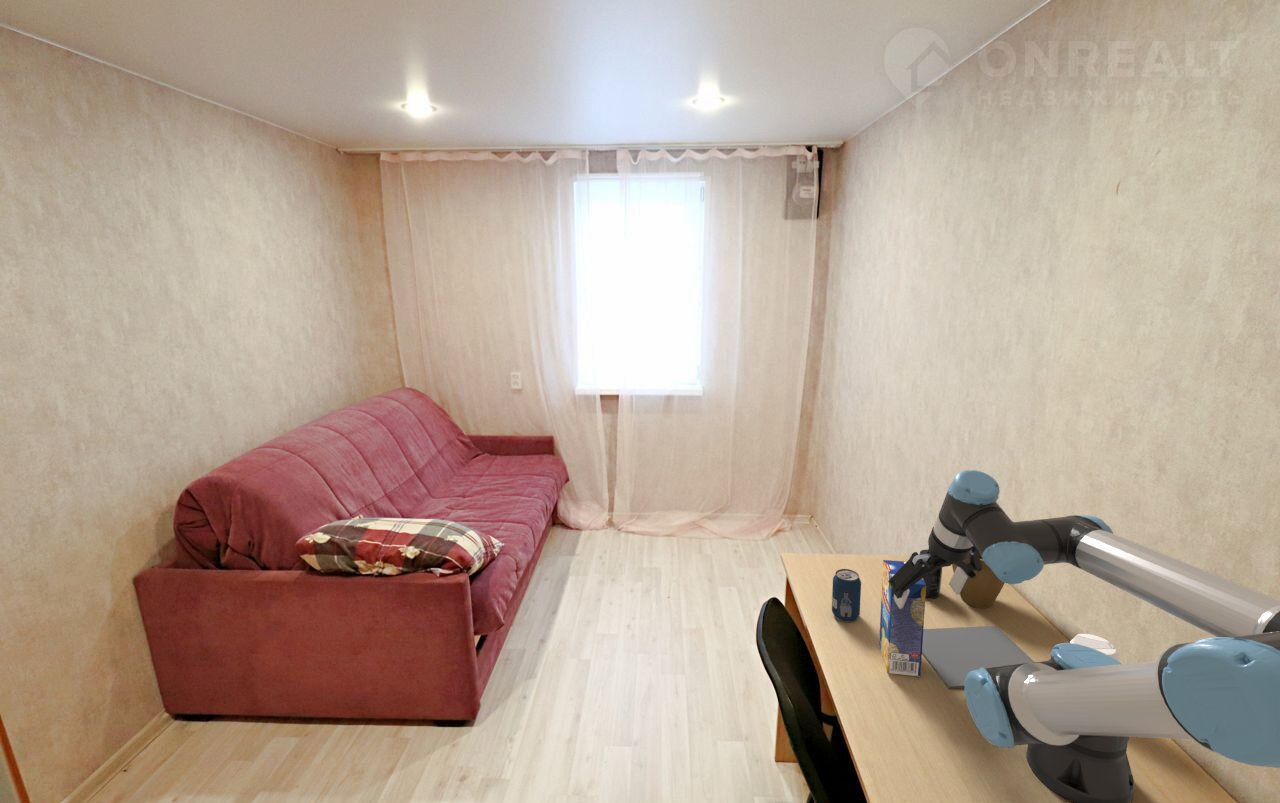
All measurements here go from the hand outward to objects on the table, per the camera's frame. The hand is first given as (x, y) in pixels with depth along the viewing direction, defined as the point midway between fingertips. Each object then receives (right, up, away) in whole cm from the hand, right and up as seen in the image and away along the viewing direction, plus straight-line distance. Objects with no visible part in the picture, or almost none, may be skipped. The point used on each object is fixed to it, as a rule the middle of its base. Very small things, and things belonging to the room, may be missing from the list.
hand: (925, 596), depth 125 cm
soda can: (-9, -14, +25) cm, 30 cm away
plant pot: (+28, -11, +29) cm, 42 cm away
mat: (+15, -17, +8) cm, 24 cm away
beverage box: (-3, -17, +7) cm, 19 cm away
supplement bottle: (+17, -11, +34) cm, 40 cm away
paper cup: (+29, -20, -8) cm, 36 cm away
